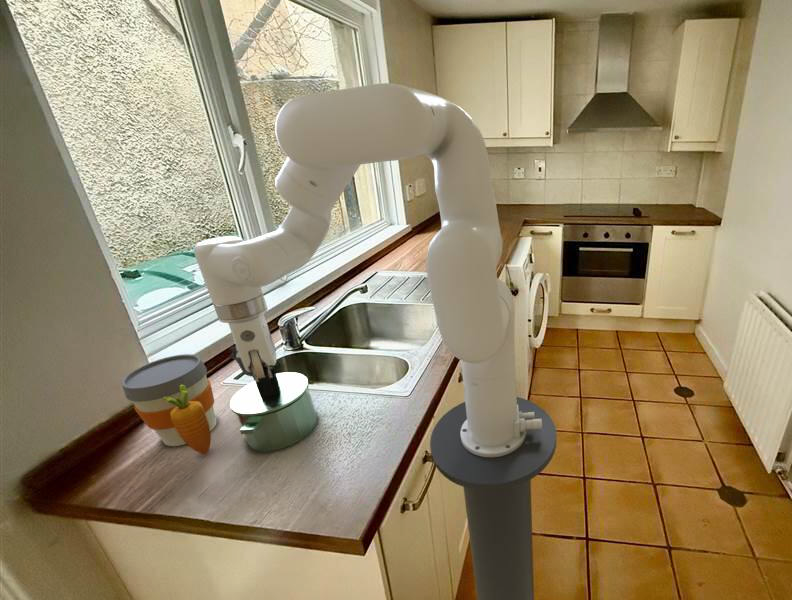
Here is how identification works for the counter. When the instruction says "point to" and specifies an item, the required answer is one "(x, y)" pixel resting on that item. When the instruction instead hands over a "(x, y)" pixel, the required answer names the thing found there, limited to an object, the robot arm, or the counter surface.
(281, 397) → the lid
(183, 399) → the carrot
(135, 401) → the reusable coffee cup
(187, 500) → the counter surface
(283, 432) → the pot
